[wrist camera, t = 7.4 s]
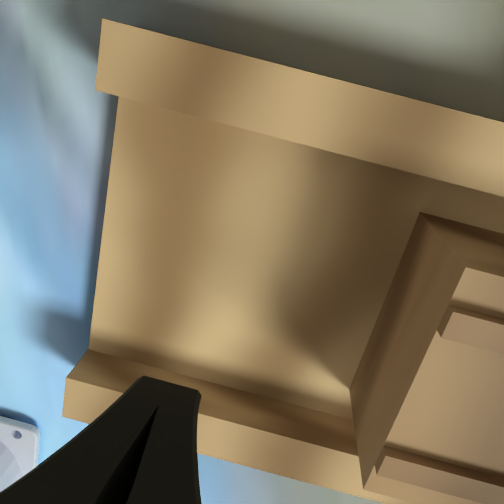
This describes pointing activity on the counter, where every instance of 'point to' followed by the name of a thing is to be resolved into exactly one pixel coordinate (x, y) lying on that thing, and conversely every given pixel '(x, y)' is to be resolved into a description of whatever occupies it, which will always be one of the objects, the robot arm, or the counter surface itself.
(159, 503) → the robot arm
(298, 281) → the wooden base
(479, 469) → the crate
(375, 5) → the counter surface
